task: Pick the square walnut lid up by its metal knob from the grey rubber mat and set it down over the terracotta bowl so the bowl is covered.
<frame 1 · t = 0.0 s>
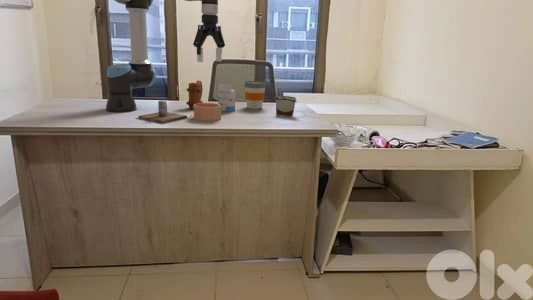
hand: (209, 61, 183), 28 cm above the table, fingers open, 13 cm apart
bowl: (207, 119, 191), on the table
lid: (163, 118, 186), resting on mat
food container: (286, 115, 211), on the table
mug: (196, 108, 219), on the table
clear plastic jar: (226, 110, 215), on the table
reusable coffee cup: (254, 107, 228), on the table
mat: (163, 119, 186), on the table
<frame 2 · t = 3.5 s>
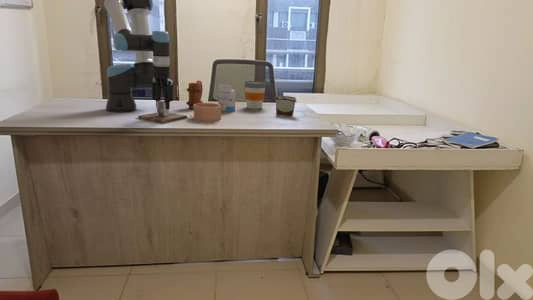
hand: (163, 114, 186), 2 cm above the table, fingers closed on lid, 4 cm apart
lid: (163, 118, 186), resting on mat, touching gripper
everything else where it was.
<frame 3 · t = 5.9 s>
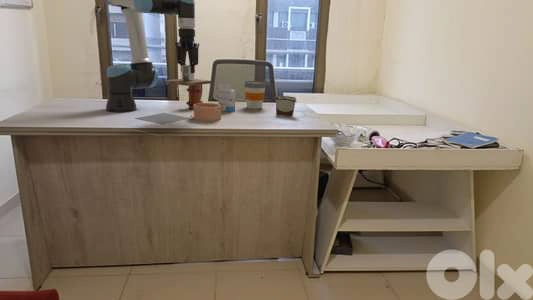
hand: (187, 79, 183), 19 cm above the table, fingers closed on lid, 4 cm apart
lid: (187, 83, 183), point 18 cm above the table, touching gripper
everything else where it was.
when the fingers open (10 cm above the table, at t = 8.3 s): lid drops 1 cm, resting on bowl.
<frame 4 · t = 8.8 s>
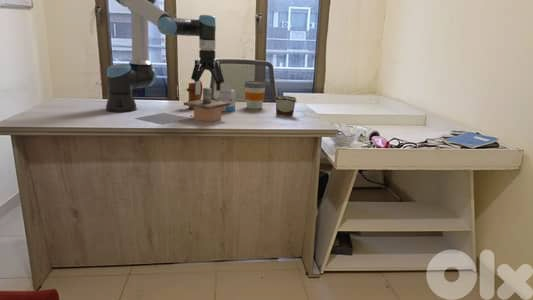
hand: (207, 95, 188), 12 cm above the table, fingers open, 11 cm apart
lid: (207, 105, 189), point 7 cm above the table, touching bowl
everything else where it was.
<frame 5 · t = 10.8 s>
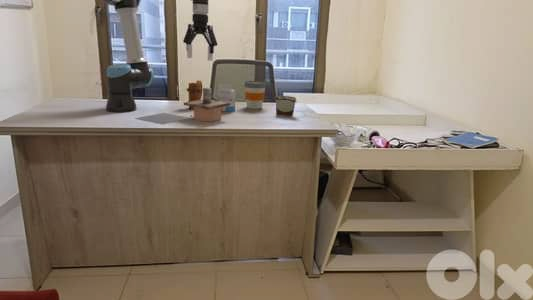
hand: (199, 59, 191), 28 cm above the table, fingers open, 13 cm apart
nothing on the table moved.
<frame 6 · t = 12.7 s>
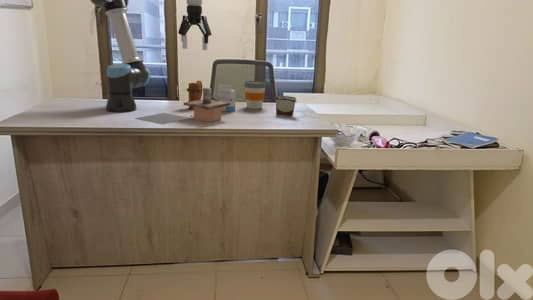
hand: (194, 49, 197), 33 cm above the table, fingers open, 13 cm apart
nothing on the table moved.
at the end: lid 0.1 cm off-centre on the bowl, point 7.0 cm above the bowl's base; lid tilted 0°; the gripper is holding nothing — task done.
